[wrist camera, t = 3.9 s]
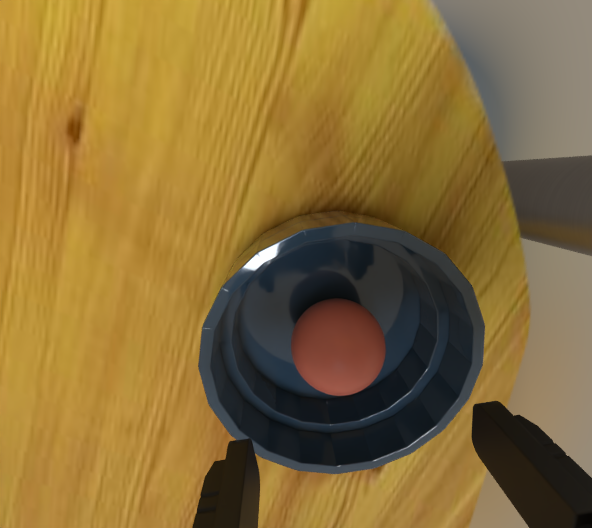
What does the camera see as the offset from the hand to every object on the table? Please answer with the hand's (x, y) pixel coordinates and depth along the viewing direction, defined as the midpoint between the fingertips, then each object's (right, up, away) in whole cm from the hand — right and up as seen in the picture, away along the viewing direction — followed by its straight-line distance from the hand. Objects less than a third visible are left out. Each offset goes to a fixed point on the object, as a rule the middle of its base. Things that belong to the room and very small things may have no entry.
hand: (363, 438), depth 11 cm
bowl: (0, +3, +9) cm, 9 cm away
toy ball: (0, +2, +6) cm, 6 cm away
